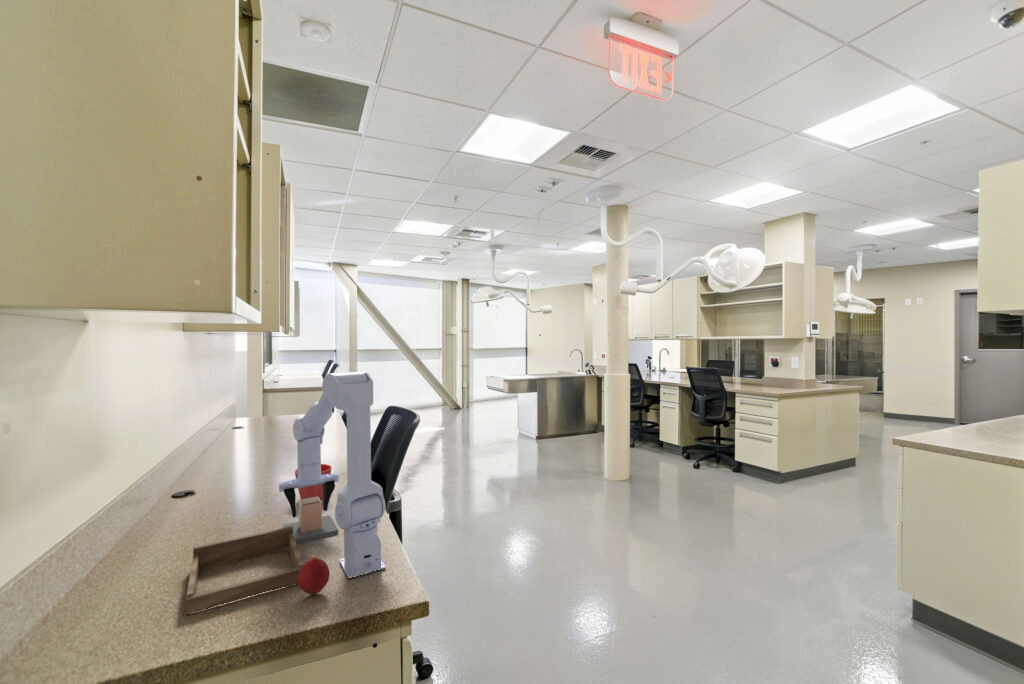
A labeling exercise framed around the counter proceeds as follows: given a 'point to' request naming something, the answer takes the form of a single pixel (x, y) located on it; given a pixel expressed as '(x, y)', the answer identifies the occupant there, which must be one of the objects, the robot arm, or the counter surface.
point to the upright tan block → (310, 514)
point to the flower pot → (315, 489)
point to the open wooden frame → (236, 552)
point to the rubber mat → (326, 529)
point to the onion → (313, 575)
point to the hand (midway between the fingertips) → (309, 512)
